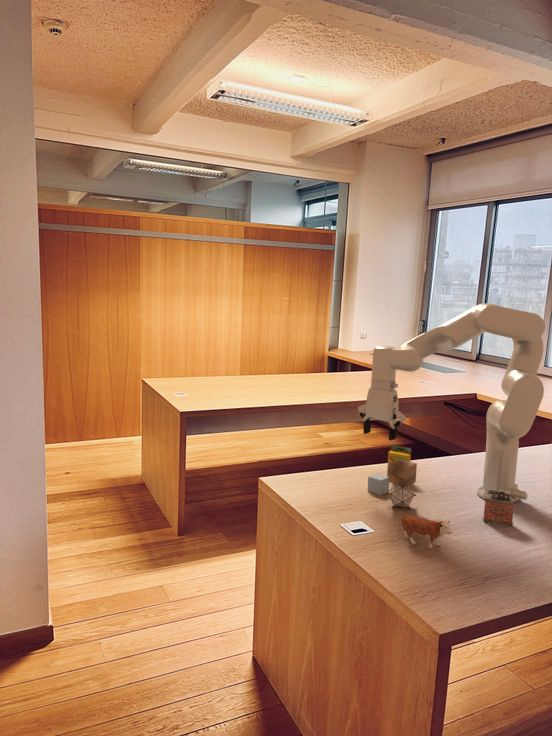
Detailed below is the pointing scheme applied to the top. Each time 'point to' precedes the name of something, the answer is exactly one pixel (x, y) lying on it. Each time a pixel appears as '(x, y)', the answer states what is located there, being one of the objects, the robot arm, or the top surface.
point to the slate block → (378, 483)
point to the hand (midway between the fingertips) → (379, 436)
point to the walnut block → (402, 472)
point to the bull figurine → (425, 528)
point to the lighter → (499, 508)
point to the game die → (401, 495)
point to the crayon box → (398, 455)
